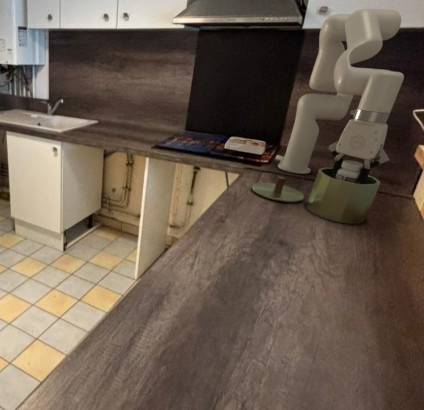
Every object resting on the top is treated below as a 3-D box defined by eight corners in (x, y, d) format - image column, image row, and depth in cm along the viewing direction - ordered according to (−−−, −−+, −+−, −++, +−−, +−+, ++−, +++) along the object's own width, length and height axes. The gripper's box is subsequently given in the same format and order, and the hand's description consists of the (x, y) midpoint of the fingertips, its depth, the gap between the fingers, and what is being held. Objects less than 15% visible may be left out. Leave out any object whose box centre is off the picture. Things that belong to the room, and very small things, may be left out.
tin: (297, 207, 116) (309, 171, 111) (321, 199, 124) (333, 165, 119) (349, 228, 104) (366, 188, 99) (372, 217, 112) (389, 180, 107)
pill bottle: (355, 199, 111) (369, 164, 106) (346, 202, 108) (360, 167, 103) (334, 192, 116) (346, 158, 111) (324, 195, 112) (337, 161, 108)
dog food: (262, 160, 166) (265, 150, 164) (221, 153, 173) (223, 143, 171) (265, 146, 191) (267, 137, 189) (229, 141, 198) (231, 132, 196)
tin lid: (241, 189, 128) (245, 173, 126) (268, 183, 137) (272, 167, 134) (286, 207, 116) (291, 189, 113) (312, 198, 124) (318, 182, 122)
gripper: (332, 112, 106) (312, 169, 114) (402, 124, 93) (375, 188, 100) (344, 111, 110) (324, 167, 117) (413, 122, 97) (386, 184, 104)
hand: (348, 176), depth 109 cm, fingers closed on pill bottle, 6 cm apart
